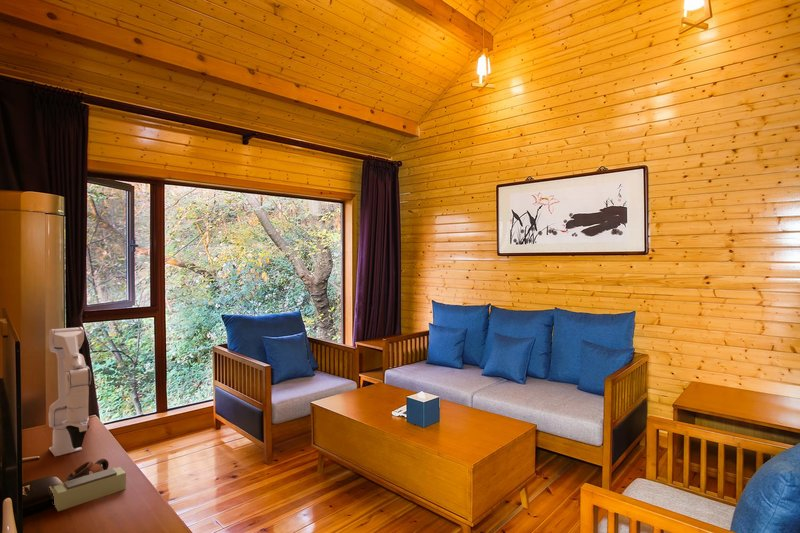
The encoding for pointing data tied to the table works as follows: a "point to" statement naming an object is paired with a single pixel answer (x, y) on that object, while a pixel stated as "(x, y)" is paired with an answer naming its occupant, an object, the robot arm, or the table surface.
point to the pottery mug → (89, 468)
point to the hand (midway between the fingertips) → (77, 447)
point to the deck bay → (88, 488)
